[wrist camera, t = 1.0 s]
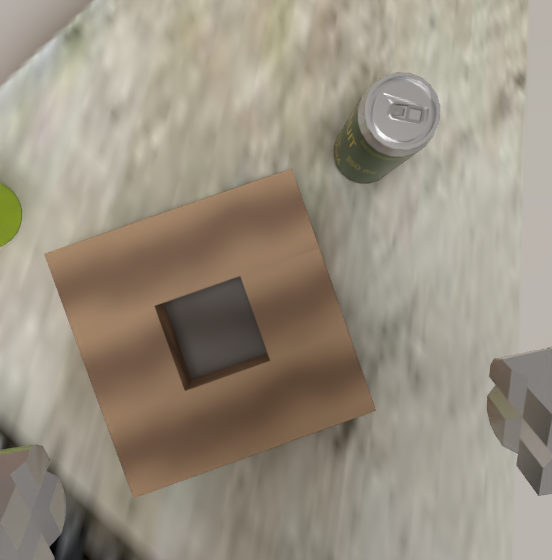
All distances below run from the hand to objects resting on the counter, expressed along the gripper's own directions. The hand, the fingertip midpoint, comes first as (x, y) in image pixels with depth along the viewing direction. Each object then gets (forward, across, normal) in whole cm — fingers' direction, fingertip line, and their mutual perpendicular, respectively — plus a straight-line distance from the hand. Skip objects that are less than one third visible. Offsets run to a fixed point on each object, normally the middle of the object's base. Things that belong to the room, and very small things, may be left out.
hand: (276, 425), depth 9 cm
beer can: (+36, +12, -5) cm, 39 cm away
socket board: (+31, -3, -17) cm, 35 cm away
